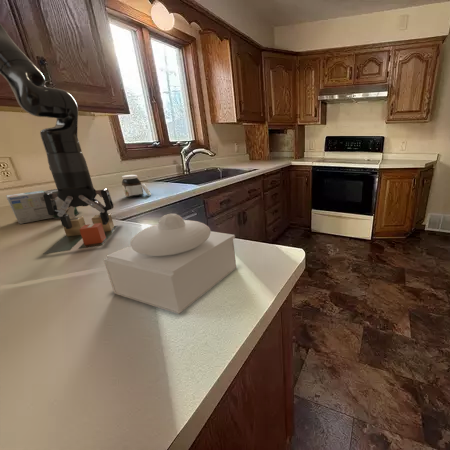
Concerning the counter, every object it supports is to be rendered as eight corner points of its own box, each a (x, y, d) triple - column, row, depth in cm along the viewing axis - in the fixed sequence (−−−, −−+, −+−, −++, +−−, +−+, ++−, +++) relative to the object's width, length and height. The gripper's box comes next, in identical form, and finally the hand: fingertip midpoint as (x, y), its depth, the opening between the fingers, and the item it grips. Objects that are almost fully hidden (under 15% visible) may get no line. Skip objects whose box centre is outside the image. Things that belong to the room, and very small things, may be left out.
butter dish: (114, 295, 50) (91, 222, 45) (183, 256, 66) (172, 199, 60) (179, 316, 44) (161, 234, 38) (238, 268, 60) (231, 205, 54)
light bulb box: (53, 214, 105) (43, 189, 101) (56, 217, 101) (47, 191, 97) (16, 221, 97) (4, 194, 93) (19, 224, 93) (6, 197, 89)
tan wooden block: (95, 232, 81) (91, 218, 79) (99, 228, 84) (95, 214, 83) (111, 230, 82) (106, 216, 80) (114, 226, 86) (110, 213, 84)
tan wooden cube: (66, 236, 78) (61, 221, 76) (72, 232, 81) (66, 217, 80) (83, 234, 79) (78, 219, 78) (87, 230, 83) (82, 216, 81)
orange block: (84, 245, 71) (78, 229, 70) (89, 240, 75) (84, 224, 73) (102, 242, 73) (97, 226, 71) (106, 237, 76) (101, 222, 75)
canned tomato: (49, 217, 101) (38, 191, 97) (71, 212, 108) (62, 187, 104) (60, 219, 98) (50, 192, 94) (83, 213, 105) (74, 188, 101)
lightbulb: (60, 228, 89) (49, 198, 85) (61, 224, 93) (50, 195, 89) (82, 224, 92) (72, 195, 89) (82, 220, 97) (72, 193, 93)
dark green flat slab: (41, 259, 66) (39, 255, 65) (71, 234, 83) (70, 231, 83) (104, 249, 71) (103, 245, 71) (120, 227, 88) (119, 224, 88)
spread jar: (123, 197, 135) (117, 175, 131) (144, 193, 143) (140, 173, 139) (132, 199, 128) (127, 177, 124) (154, 195, 137) (150, 174, 133)
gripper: (106, 167, 72) (119, 219, 77) (42, 169, 67) (62, 225, 72) (97, 170, 66) (113, 226, 71) (27, 173, 60) (50, 234, 66)
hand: (87, 226), depth 72 cm, fingers open, 8 cm apart
